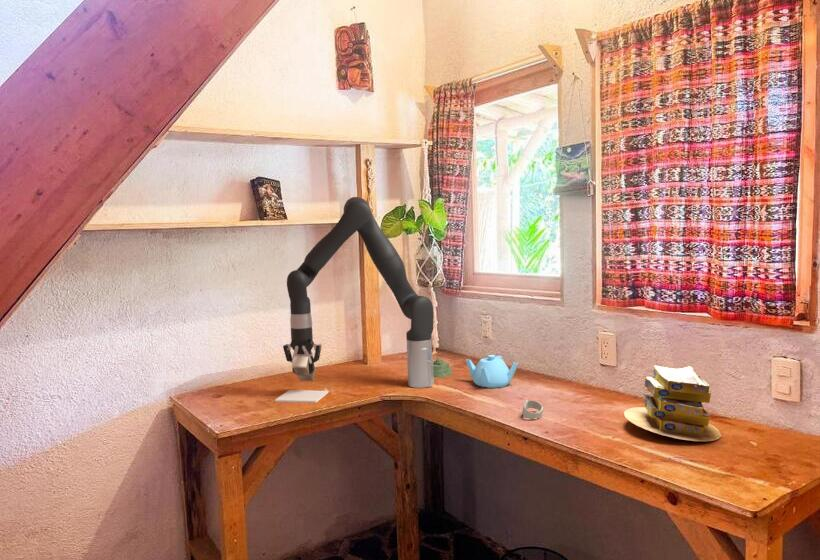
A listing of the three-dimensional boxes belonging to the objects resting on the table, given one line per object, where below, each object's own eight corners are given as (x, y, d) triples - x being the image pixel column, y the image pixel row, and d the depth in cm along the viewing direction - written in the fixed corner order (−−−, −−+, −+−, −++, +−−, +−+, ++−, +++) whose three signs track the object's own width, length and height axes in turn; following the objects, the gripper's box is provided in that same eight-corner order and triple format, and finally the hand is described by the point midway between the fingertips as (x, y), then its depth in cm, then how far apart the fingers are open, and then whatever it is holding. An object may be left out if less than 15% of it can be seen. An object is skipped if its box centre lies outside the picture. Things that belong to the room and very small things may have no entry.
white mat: (328, 392, 222) (328, 390, 222) (316, 402, 209) (315, 401, 209) (289, 391, 225) (289, 390, 225) (274, 401, 212) (274, 400, 212)
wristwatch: (525, 411, 193) (525, 395, 192) (545, 412, 190) (545, 396, 190) (519, 419, 184) (519, 403, 184) (540, 421, 182) (540, 405, 181)
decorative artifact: (423, 377, 240) (448, 378, 238) (422, 359, 240) (448, 360, 237) (429, 371, 250) (454, 372, 247) (429, 354, 249) (453, 354, 247)
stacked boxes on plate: (716, 420, 178) (717, 362, 176) (725, 449, 155) (726, 384, 153) (626, 413, 187) (626, 358, 185) (622, 440, 164) (621, 378, 162)
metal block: (316, 369, 224) (308, 353, 217) (313, 381, 221) (305, 366, 214) (303, 369, 225) (294, 353, 218) (300, 380, 222) (291, 366, 215)
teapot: (520, 386, 221) (520, 357, 220) (482, 391, 216) (481, 361, 215) (501, 377, 235) (501, 349, 235) (465, 381, 231) (464, 353, 230)
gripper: (278, 327, 215) (280, 375, 217) (317, 327, 212) (319, 376, 214) (286, 324, 222) (288, 370, 224) (324, 324, 220) (326, 371, 221)
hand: (303, 373), depth 219 cm, fingers closed on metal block, 5 cm apart
